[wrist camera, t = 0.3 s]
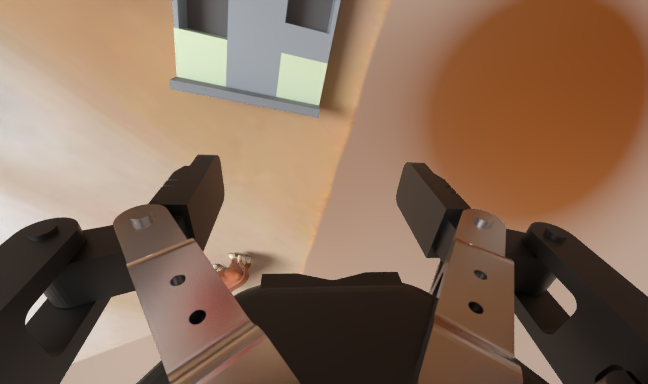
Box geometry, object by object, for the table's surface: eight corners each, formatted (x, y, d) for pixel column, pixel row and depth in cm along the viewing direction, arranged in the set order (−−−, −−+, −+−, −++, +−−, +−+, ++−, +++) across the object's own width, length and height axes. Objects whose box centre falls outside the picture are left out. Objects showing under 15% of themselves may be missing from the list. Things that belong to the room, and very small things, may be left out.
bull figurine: (189, 271, 52) (172, 309, 45) (245, 243, 49) (237, 278, 42) (204, 284, 54) (191, 321, 47) (259, 257, 51) (254, 293, 44)
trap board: (176, -136, 24) (151, -170, 20) (352, -75, 28) (362, -93, 23) (186, 81, 34) (170, 89, 30) (315, 107, 37) (318, 117, 33)
